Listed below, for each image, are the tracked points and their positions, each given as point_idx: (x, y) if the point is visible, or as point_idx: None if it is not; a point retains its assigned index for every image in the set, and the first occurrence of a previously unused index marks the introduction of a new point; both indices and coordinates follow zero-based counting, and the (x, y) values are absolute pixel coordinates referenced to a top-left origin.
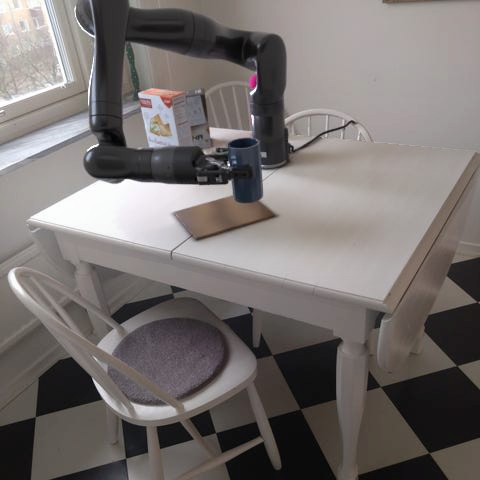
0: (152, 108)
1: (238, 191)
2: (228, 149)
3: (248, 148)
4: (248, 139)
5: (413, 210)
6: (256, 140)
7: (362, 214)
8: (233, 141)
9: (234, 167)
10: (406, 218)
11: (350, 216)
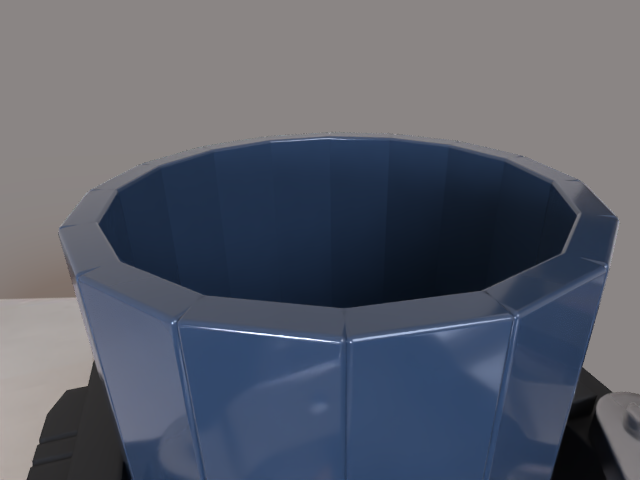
0: None
1: None
2: (596, 310)
3: (450, 144)
4: (114, 221)
5: (24, 329)
6: (197, 159)
7: (25, 416)
8: (268, 313)
9: (577, 392)
10: (72, 330)
11: (35, 442)
